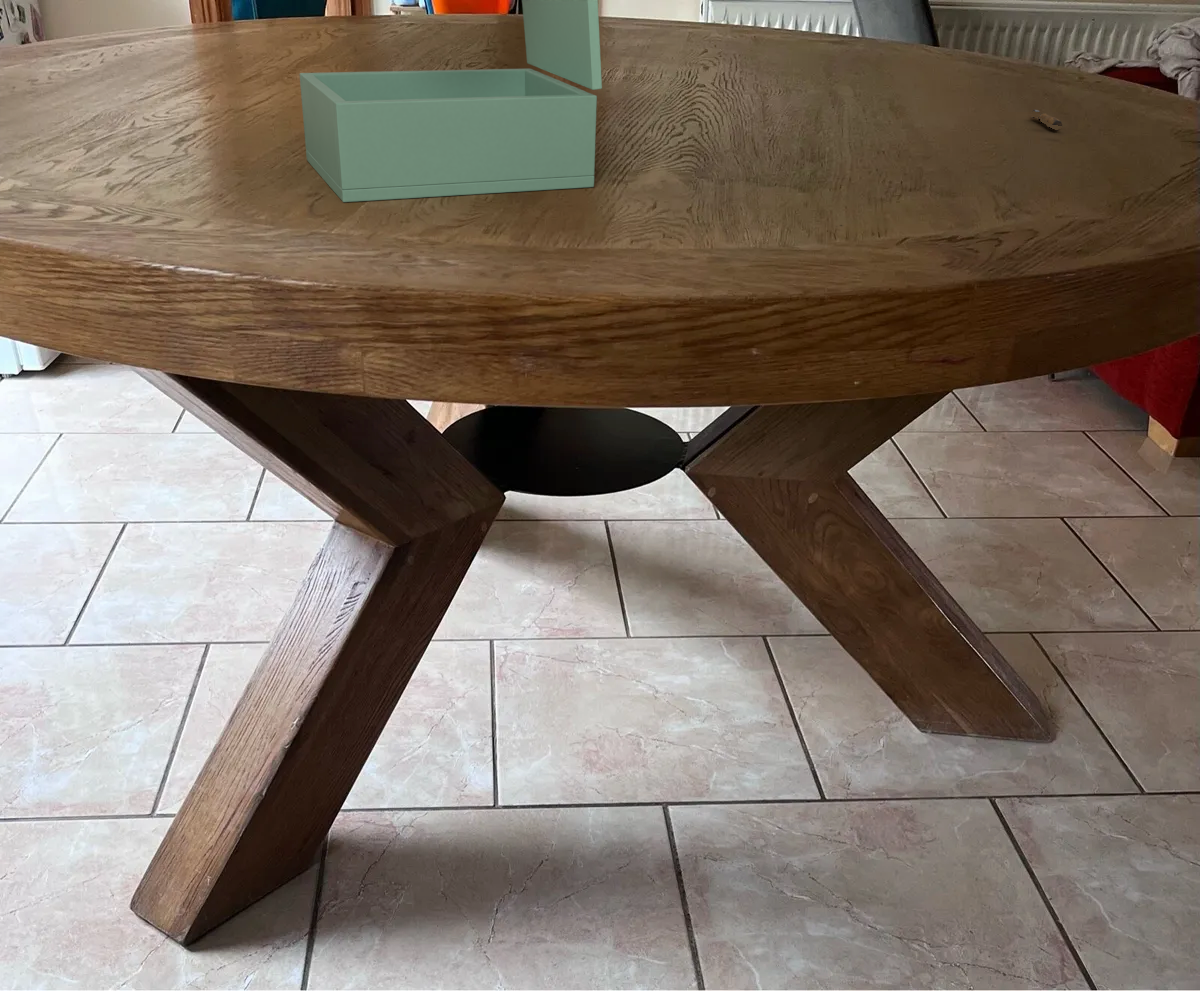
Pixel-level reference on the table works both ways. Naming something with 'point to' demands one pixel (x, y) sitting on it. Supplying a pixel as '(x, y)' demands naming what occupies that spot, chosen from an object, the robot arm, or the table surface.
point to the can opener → (1050, 119)
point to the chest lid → (564, 39)
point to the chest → (447, 132)
